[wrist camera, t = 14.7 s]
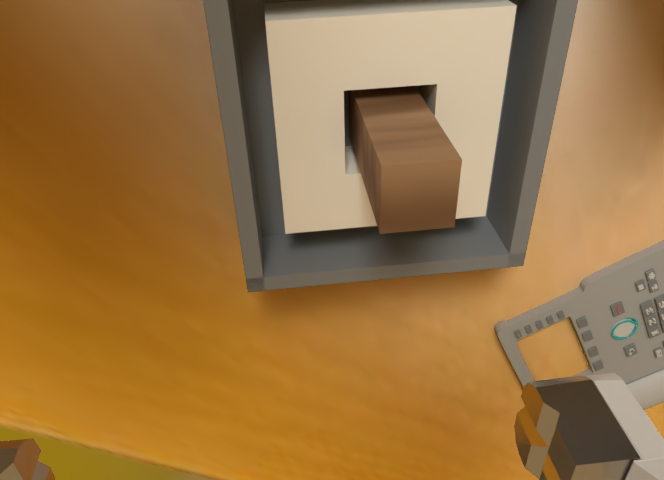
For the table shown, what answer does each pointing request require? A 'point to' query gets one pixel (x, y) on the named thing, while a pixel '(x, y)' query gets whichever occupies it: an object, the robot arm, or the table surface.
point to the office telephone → (608, 324)
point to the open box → (333, 127)
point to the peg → (404, 159)
